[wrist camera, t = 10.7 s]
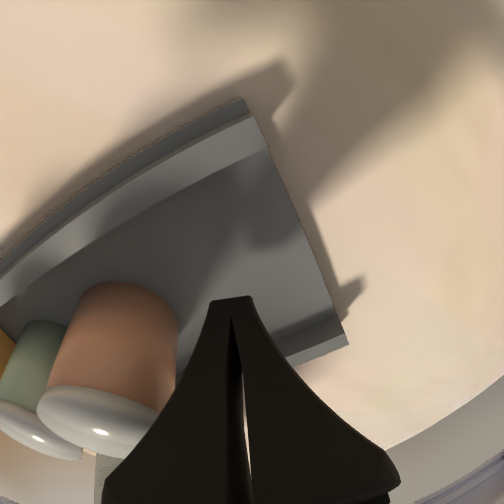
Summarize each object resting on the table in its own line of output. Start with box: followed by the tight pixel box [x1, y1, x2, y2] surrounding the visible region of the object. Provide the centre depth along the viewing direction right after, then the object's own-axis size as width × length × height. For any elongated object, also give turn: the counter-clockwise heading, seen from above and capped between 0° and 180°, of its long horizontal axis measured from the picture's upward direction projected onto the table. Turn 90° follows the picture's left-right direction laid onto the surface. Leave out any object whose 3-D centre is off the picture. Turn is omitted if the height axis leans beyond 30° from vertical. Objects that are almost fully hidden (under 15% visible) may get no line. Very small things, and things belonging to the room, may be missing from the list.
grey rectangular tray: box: [0, 97, 349, 388], centre depth 12 cm, size 12×26×4 cm, turn 115°
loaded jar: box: [0, 320, 83, 461], centre depth 11 cm, size 5×5×6 cm
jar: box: [37, 282, 179, 459], centre depth 10 cm, size 5×5×6 cm
